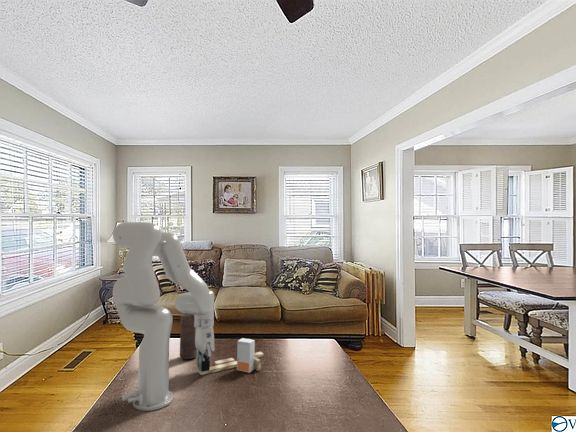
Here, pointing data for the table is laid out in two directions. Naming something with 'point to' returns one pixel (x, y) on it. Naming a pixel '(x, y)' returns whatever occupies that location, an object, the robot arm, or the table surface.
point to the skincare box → (245, 355)
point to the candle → (187, 336)
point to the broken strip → (257, 354)
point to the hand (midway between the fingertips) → (203, 368)
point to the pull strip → (225, 365)
